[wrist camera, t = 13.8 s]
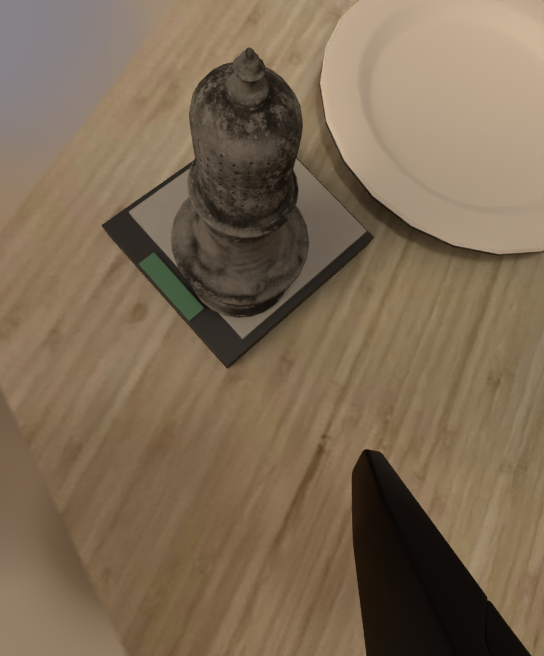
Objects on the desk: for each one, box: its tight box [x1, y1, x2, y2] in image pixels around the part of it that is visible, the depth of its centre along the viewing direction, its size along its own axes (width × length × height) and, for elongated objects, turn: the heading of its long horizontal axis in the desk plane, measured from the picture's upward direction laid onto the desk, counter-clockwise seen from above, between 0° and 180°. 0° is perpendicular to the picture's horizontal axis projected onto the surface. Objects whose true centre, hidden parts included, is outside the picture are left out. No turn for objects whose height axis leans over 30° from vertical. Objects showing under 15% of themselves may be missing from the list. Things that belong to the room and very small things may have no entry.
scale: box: [102, 158, 374, 368], centre depth 20 cm, size 11×10×2 cm
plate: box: [320, 0, 544, 255], centre depth 24 cm, size 21×21×2 cm
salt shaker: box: [171, 48, 309, 318], centre depth 13 cm, size 6×6×12 cm
